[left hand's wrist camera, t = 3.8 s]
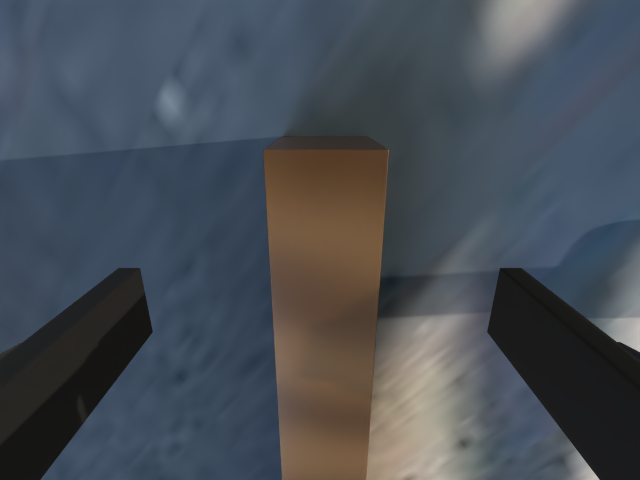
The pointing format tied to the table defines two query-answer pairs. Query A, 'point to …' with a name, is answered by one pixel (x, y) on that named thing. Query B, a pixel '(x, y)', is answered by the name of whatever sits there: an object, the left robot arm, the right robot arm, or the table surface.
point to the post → (325, 297)
